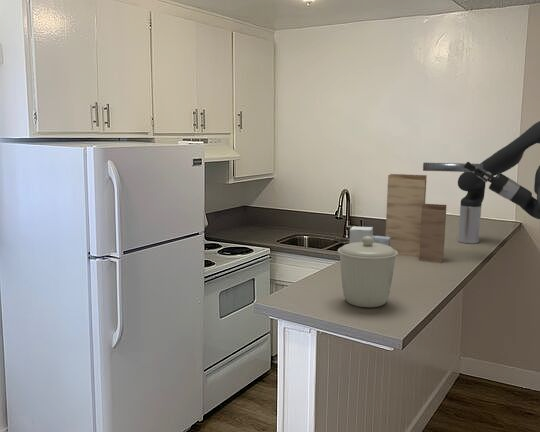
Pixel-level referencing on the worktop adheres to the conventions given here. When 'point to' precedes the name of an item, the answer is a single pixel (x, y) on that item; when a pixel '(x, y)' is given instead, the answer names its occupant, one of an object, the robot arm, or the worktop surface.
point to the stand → (405, 212)
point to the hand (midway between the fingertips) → (466, 164)
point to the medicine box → (382, 240)
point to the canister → (367, 272)
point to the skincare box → (360, 233)
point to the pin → (448, 167)
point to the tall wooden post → (432, 232)
